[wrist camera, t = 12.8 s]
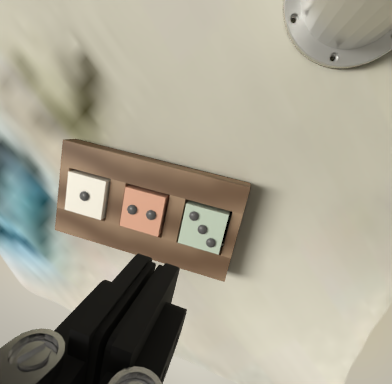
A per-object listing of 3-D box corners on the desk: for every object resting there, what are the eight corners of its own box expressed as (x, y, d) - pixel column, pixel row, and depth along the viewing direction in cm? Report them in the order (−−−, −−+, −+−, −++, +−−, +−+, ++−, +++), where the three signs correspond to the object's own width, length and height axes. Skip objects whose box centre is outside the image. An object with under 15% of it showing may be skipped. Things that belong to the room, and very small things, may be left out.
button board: (75, 139, 36) (62, 139, 33) (250, 183, 33) (250, 187, 30) (67, 223, 39) (55, 229, 36) (226, 271, 36) (224, 281, 33)
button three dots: (191, 197, 34) (186, 203, 31) (230, 207, 34) (228, 215, 31) (183, 233, 36) (177, 243, 33) (221, 244, 35) (218, 255, 32)
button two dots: (135, 182, 35) (124, 187, 32) (172, 192, 35) (165, 198, 32) (129, 218, 37) (118, 226, 34) (165, 228, 36) (157, 237, 33)
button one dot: (82, 167, 36) (67, 171, 33) (117, 177, 36) (105, 181, 33) (78, 203, 38) (63, 209, 35) (112, 213, 37) (100, 220, 34)
